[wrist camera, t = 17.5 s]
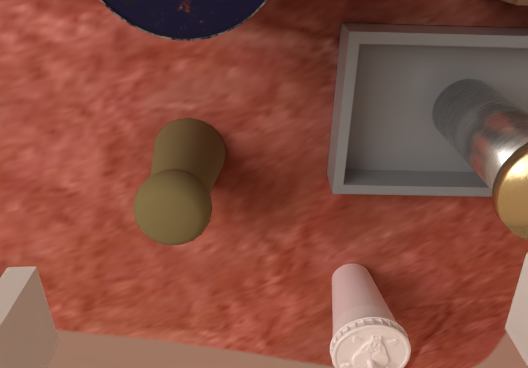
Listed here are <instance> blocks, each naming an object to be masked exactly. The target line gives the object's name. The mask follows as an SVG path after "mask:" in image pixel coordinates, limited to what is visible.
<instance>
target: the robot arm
mask: <svg viewBox="0 0 528 368" xmlns="http://www.w3.org/2000/svg"><path fill="white" fill-rule="evenodd" d="M505 330H506V331H507V333H508V335H509V336H510V338H511V339H512V341H513V343H514V344H515V346H516V348H517V350H518V351H519V353H520V355H521V356H522V358H523V359H524V361H525V363H526V365H527V366H528V253H526V257H525V260H524V264H523V267H522V270H521V274H520V277H519V281H518V284H517V288H516V291H515V295H514V298H513V301H512V305H511V308H510V312H509V315H508V319H507V322H506V326H505ZM58 343H59V339H58V335H57V332H56V329H55V325H54V322H53V319H52V316H51V312H50V309H49V306H48V303H47V299H46V296H45V293H44V290H43V286H42V283H41V280H40V277H39V273H38V270H37V267H8V268H7V269H6V270H5V272H4V273H3V275H2V276H1V278H0V368H47V367H48V365H49V363H50V360H51V358H52V356H53V354H54V352H55V349H56V347H57V345H58Z"/></svg>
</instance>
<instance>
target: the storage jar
mask: <svg viewBox="0 0 528 368" xmlns="http://www.w3.org/2000/svg"><path fill="white" fill-rule="evenodd" d="M100 1H101V2H102V3H103V4H104V5H105V6H106V7H107V8H109V9H110V10H111V11H112V12H113V13H114V14H115V15H117V16H118V17H119V18H121V19H122V20H124V21H125V22H127V23H128V24H130V25H132V26H134V27H136V28H137V29H139V30H141V31H143V32H146V33H149V34H152V35H155V36H158V37H161V38H167V39H172V40H191V41H193V40H200V39H207V38H211V37H215V36H218V35H221V34H224V33H226V32H228V31H230V30H232V29H234V28H236V27H238V26H240V25H241V24H242V23H244V22H245V21H247V20H248V19H249V18H251V17H252V16H253V15H254V14H255V13H256V12H257V11H258V10H259V9H260V8H261V7H262V6H263V5H264V4H265V3H266V1H267V0H100Z"/></svg>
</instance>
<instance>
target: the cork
mask: <svg viewBox="0 0 528 368" xmlns="http://www.w3.org/2000/svg"><path fill="white" fill-rule="evenodd" d="M225 156H226V152H225V144H224V142H223V140H222V138H221V136H220V134H219V133H218V132H217V131H216V130H215V129H214V128H213V127H212V126H210V125H208V124H207V123H205V122H203V121H200V120H196V119H191V118H187V119H178V120H176V121H173V122H171V123H168V124H167V125H166V126H165V127H164V128H163V129H161V130H160V132H159V134H158V135H157V137H156V139H155V144H154V151H153V158H152V166H151V173H150V177H149V178H148V179H147V180H145V181H144V182H143V183H142V184H141V186H140V188H139V190H138V192H137V194H136V196H135V200H134V215H135V219H136V222H137V224H138V225H139V227H140V229H141V230H142V231H143V232H144V233H145V234H146V235H147V236H148V237H149V238H151V239H152V240H154V241H156V242H159V243H161V244H166V245H181V244H184V243H187V242H190V241H192V240H194V239H195V238H197V237H198V236H199V235H201V234H202V232H203V231H204V229H205V228H206V226H207V225H208V223H209V222H210V217H211V213H212V202H211V197H210V192H211V190H212V188H213V186H214V184H215V182H216V180H217V178H218V175H219V173H220V171H221V169H222V167H223V165H224V161H225Z"/></svg>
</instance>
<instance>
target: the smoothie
mask: <svg viewBox="0 0 528 368" xmlns="http://www.w3.org/2000/svg"><path fill="white" fill-rule="evenodd" d="M332 309H333V338H332V341H331V343H330V354H331V357H332V362H333V365H334V367H335V368H403V367H404V366H405V365H406V364H407V362H408V360H409V358H410V353H411V348H410V343H409V340H408V335H407V333H406V332H405V330H404V329H403V327H401V326H400V325H399V324H398V323H397V322H396V321H395V319H394V317H393V315H392V314H391V312H390V310H389V308H388V306H387V304H386V303H385V301H384V299H383V297H382V295H381V293H380V292H379V290H378V288H377V286H376V284H375V283H374V281H373V279H372V277H371V275H370V273H369V272H368V270H367V269H366V268H365V267H364V266H362V265H360V264H355V263H351V264H346V265H343V266H341V267H339V268H338V269H337V270H336V271H335V272H334V274H333V276H332Z"/></svg>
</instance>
